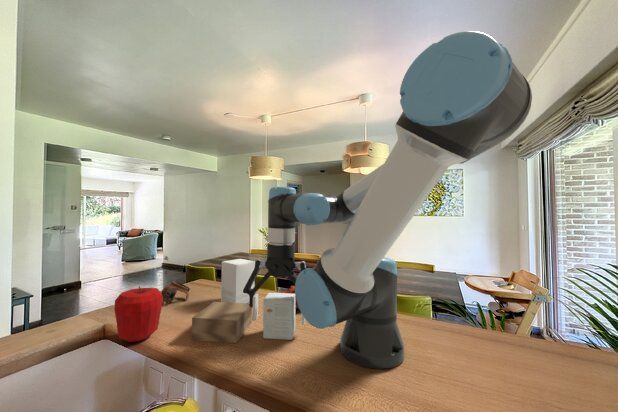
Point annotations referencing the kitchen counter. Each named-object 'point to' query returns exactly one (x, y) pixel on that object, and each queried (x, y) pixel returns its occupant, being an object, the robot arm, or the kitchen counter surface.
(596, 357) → the kitchen counter surface
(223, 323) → the walnut block
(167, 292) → the brown grey ring
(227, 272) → the supplement box
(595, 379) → the kitchen counter surface
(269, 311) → the small box
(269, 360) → the kitchen counter surface
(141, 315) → the apple
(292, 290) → the dragon fruit
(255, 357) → the kitchen counter surface
